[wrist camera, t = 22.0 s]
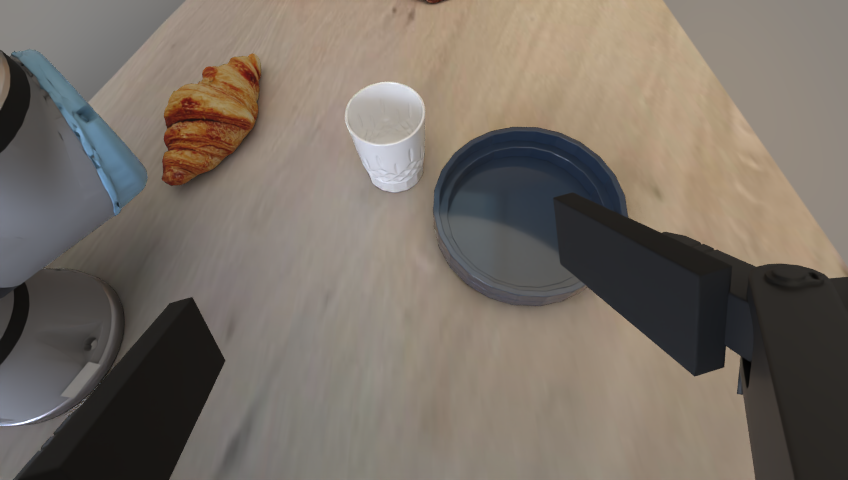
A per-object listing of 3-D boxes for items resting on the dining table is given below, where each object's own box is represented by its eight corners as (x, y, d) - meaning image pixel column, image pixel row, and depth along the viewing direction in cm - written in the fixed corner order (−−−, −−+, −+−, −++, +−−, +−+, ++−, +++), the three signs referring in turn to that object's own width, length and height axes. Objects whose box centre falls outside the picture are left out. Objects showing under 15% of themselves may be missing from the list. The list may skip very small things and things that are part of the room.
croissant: (252, 81, 59) (205, 35, 53) (297, 67, 53) (249, 13, 48) (177, 202, 51) (111, 163, 45) (221, 199, 45) (151, 155, 39)
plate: (398, 216, 46) (395, 199, 42) (517, 121, 50) (523, 98, 46) (526, 347, 39) (535, 340, 36) (649, 225, 44) (668, 208, 40)
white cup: (428, 197, 46) (425, 144, 37) (361, 198, 47) (341, 146, 37) (428, 141, 49) (425, 79, 40) (365, 142, 50) (347, 82, 41)
